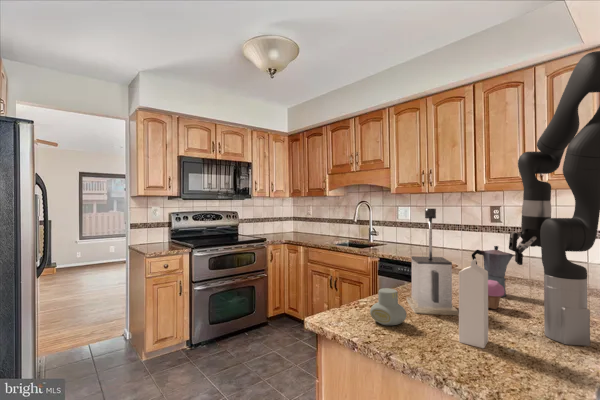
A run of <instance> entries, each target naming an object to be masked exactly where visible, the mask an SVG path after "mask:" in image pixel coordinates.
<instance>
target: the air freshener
mask: <svg viewBox="0 0 600 400" xmlns="http://www.w3.org/2000/svg"><path fill="white" fill-rule="evenodd" d="M377 291H378V297H377V298H378V300H377V301H378V302H376V303H374V304H373V305H372V306H371V307H370V310H369V311H370V312H369V313H370V316H371V317H372V319H373V320H374V321H375V322H377V323H379V324H380V325H382V326H387V327H390V326H398V325H400V324H402V323H403V322H405V320H406V318H407V311H406V309H405V308H404V307H403V306H402V305H401V304H400V303H399V293H398V292H399V291H398V290H396V289H395V288H391V287H390V288H388V287H385V288H379V290H377Z"/></svg>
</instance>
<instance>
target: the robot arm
mask: <svg viewBox="0 0 600 400" xmlns="http://www.w3.org/2000/svg"><path fill="white" fill-rule="evenodd" d="M590 93H600V50H595V51H591V52H588V53H586V54H585V55H583V56H582V57H581V58H580V60H579V61H577V64H576V65H575V66H574V68H573V69H572V73H571V74H570V77H569V78H568V81H567V84H565V88H564V90H563V92H562V95H561V97H560V100H559V102H558V105H557V107H556V109H555V111H554V114H553V116H552V118H551V120H550V122H549V123H548V125H547V126H546V128H545V129H544V131H543V132H542V133H541V136H539V138H538V140H537V142H536V148H537V150H538V151H524V152H523V153H522V154H521V155H520V156H519V158H518V160H517V169H518V171H519V174H520V179H521V182H522V186H523V196H522V197H523V198H522V199H523V200H522V206H521V223H520V224H521V225H520V227H521V231H520V232H515V231H510V233H509V240H508V241H509V242H508V250H509V251H512V252H514V253H515V254H514V261H515V263H516V264H517V265H520V266H522V265H523V263H524V262H523V260H524V259H523V258H524V254H523V252H524V251H525V250H527V249H528V248H529V247H535V248H536V247H538V248H540V249H541V250H540V251H541V261H542V262H541V263H542V266H543V281H544V282H543V299H544V300H543V301H544V302H543V308H544V309H543V310H544V311H543V313H544V314H543V315H544V317H543V319H544V324H543V325H544V331H543V332H544V335H545V336H546V337H547V338H548V339H551V340H552V341H555V342H559V343H562V344H564V345H570V346H573V345H574V346H586V347H587V346H588V347H590V346H591V312H590V309H589V308H588V270H587V268H586V267H584V266H582V265H579V264H578V263H574V262H572V261H571V260H569V259H568V257H567V252H576V253H577V252H581V253H582V252H587V251H589V250H590V249H591V248H593V246H594V245H595V242H596V239H597V234H598V228H599V222H600V104H599V105H598V108H597V110H596V112H595V113H594V115H593V116H592V117H591V119H590V120H589V121H588V122H587V123H586V124H585V125H584V126H583V127H582V128H581V129H580V116H579V115H580V114H579V107H580V104H581V102H582V101H583V100H584V99H585V97H586V96H587V95H589V94H590ZM579 129H580V130H579ZM565 150H566V151H565ZM564 152H565V153H564ZM564 154H565V155H564ZM563 156H564V160H563V164H562V174H563V177H564V180H565V181H566V185H568V187H569V189H570V191H571V192H572V195H573V198H574V211H573V215H572V217H552V203H551V202H552V201H551V200H552V185H551V183H550V182H547V181H544V180H539V179H538V178H537V174H538V175H541V174H542V175H549V174H552V173H554V172H556V171H557V170H558V169H559V168H560V165H561V162H562V159H563ZM520 238H521V241H520V242H519V243H518V240H519V239H520Z"/></svg>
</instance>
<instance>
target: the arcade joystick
mask: <svg viewBox="0 0 600 400" xmlns="http://www.w3.org/2000/svg"><path fill="white" fill-rule="evenodd" d="M452 278H453V262H451V261H450V260H448V259H446V258H444V257H443V256H432V260H429V256H411V296H406V302H407V304H408V306H410V309H411V310H412V311H413V313H414V314H423V315H441V316H442V315H444V316H445V315H446V316H459V309H457V308H456V307H454V306H453V282H452V281H453V279H452Z"/></svg>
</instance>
